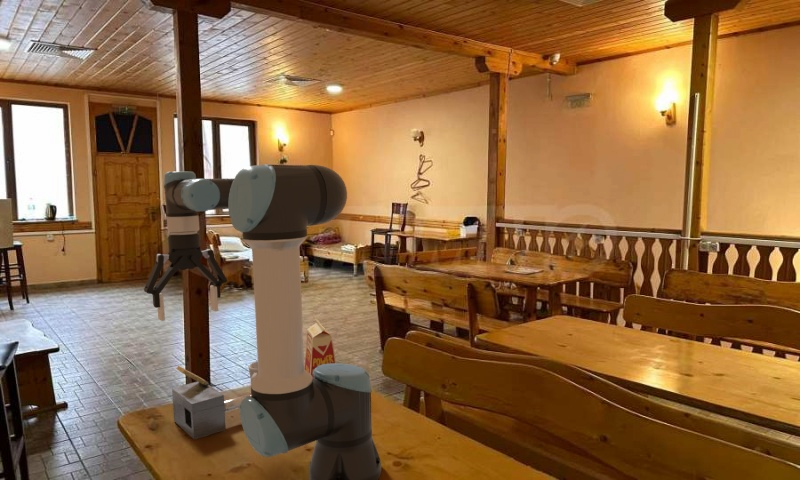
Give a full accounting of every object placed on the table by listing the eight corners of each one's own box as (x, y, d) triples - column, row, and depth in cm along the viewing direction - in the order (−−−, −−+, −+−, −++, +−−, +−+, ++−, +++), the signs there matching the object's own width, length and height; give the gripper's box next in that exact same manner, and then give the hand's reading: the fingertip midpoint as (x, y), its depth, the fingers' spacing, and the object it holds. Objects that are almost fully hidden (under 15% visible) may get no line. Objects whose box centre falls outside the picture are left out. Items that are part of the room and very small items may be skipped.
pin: (270, 405, 147) (269, 388, 147) (214, 422, 137) (213, 405, 137) (262, 400, 151) (261, 384, 150) (207, 417, 141) (205, 399, 140)
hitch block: (226, 429, 138) (224, 395, 137) (194, 439, 133) (191, 404, 132) (204, 412, 149) (202, 380, 148) (174, 421, 144) (171, 388, 143)
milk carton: (302, 382, 169) (299, 319, 167) (330, 377, 173) (328, 315, 171) (310, 392, 161) (307, 326, 159) (340, 387, 165) (337, 322, 163)
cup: (266, 400, 156) (265, 373, 155) (240, 398, 158) (239, 371, 157) (281, 386, 167) (280, 360, 166) (257, 384, 168) (256, 359, 167)
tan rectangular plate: (207, 386, 143) (209, 383, 144) (182, 373, 139) (185, 370, 139) (200, 381, 147) (202, 378, 147) (175, 368, 143) (178, 365, 143)
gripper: (225, 228, 150) (229, 304, 152) (126, 236, 134) (132, 321, 136) (236, 229, 144) (241, 309, 147) (135, 238, 128) (142, 326, 131)
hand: (189, 315), depth 142 cm, fingers open, 13 cm apart
